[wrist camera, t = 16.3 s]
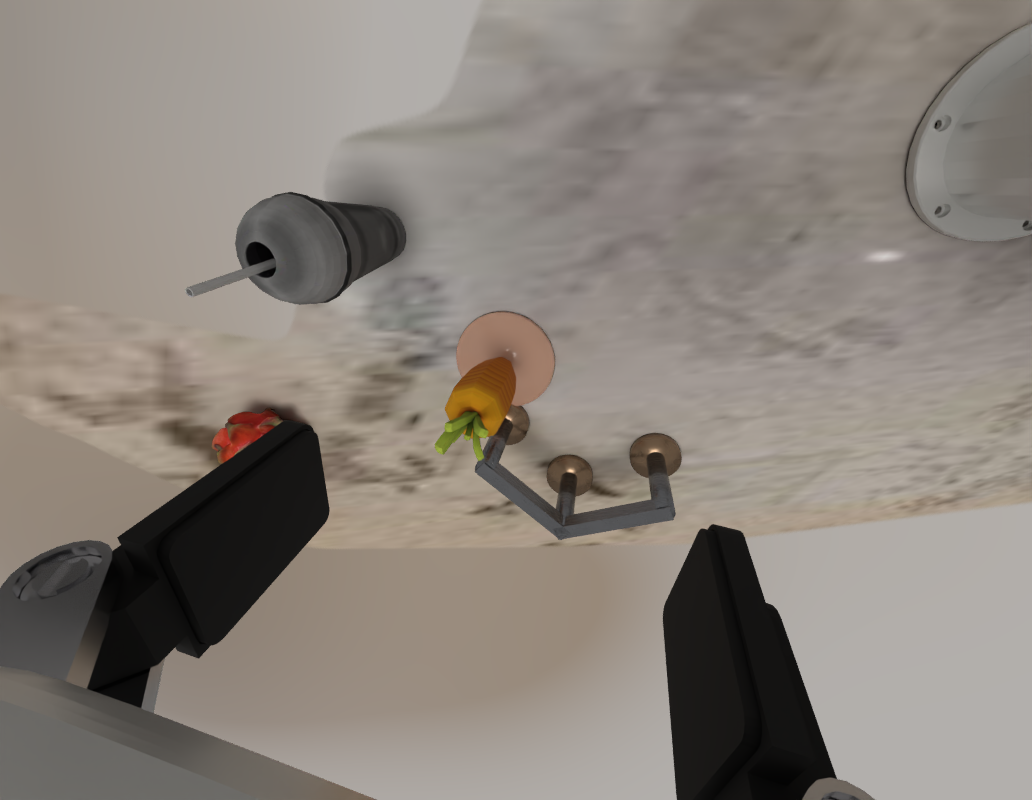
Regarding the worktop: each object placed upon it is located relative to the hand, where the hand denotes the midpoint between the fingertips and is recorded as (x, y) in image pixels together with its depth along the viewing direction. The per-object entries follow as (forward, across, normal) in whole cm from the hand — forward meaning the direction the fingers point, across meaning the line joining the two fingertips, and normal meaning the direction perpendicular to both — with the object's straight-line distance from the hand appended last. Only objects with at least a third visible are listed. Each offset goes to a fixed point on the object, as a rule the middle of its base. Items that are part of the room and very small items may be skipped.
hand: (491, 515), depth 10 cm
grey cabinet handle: (+30, -2, +20) cm, 36 cm away
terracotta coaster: (+30, +7, +10) cm, 32 cm away
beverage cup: (+30, +20, 0) cm, 36 cm away
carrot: (+30, +7, +10) cm, 32 cm away
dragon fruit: (+29, +35, +25) cm, 52 cm away
